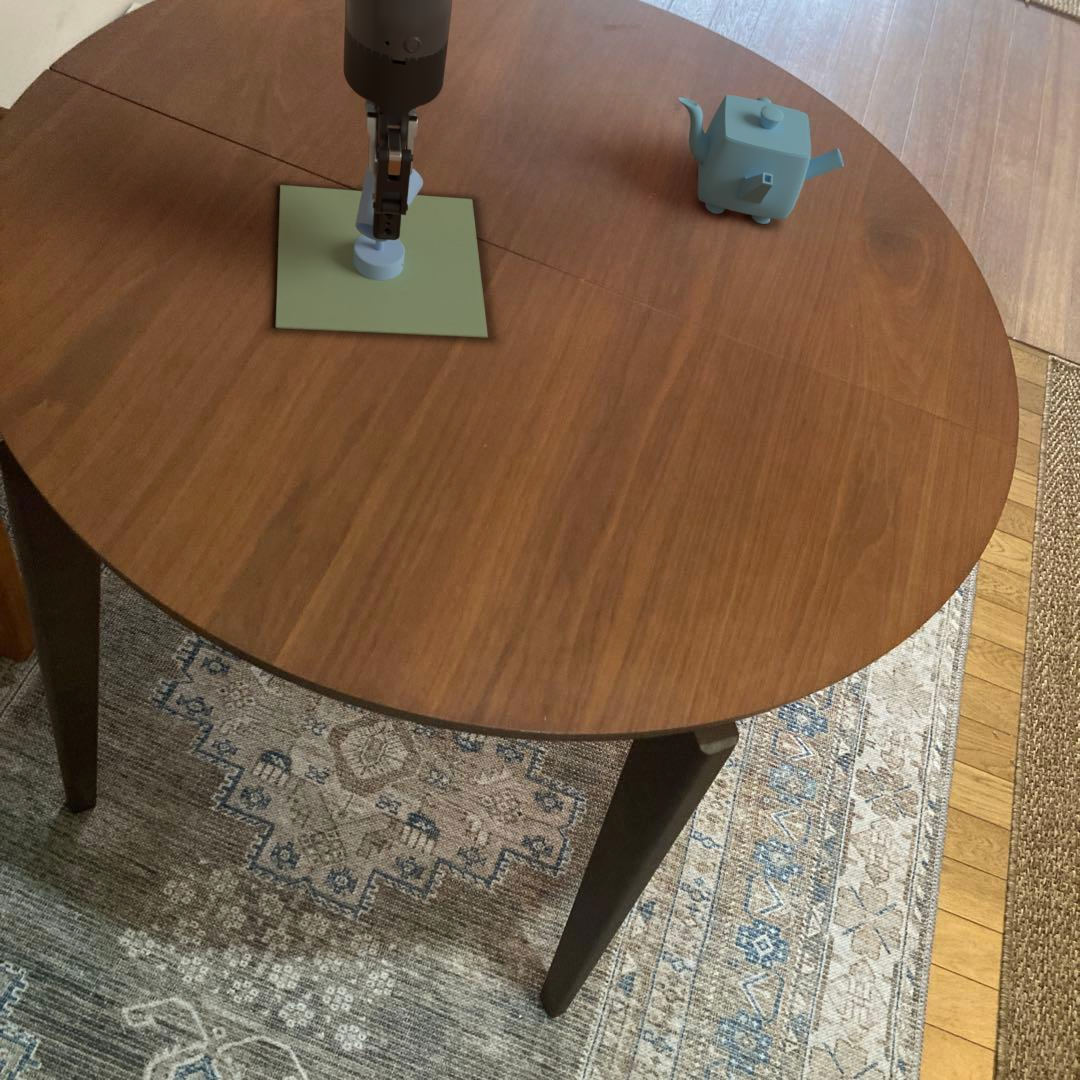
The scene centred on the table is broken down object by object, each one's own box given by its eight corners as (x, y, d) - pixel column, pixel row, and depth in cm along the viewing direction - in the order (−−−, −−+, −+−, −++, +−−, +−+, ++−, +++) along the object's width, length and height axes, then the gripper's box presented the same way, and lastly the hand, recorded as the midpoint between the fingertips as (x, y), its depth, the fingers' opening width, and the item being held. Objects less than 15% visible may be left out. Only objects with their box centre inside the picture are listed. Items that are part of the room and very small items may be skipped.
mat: (275, 328, 87) (275, 326, 87) (280, 186, 97) (280, 184, 96) (487, 337, 91) (487, 336, 91) (471, 200, 100) (472, 199, 100)
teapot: (815, 178, 113) (855, 95, 104) (822, 264, 105) (865, 182, 96) (655, 141, 111) (683, 53, 103) (649, 226, 103) (678, 138, 95)
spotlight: (368, 227, 95) (339, 274, 91) (374, 133, 87) (342, 180, 83) (419, 245, 95) (392, 292, 91) (429, 153, 87) (400, 200, 83)
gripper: (343, -38, 78) (339, 149, 92) (346, 77, 70) (340, 262, 84) (443, -26, 80) (424, 156, 93) (455, 87, 72) (432, 268, 86)
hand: (384, 206), depth 89 cm, fingers closed on spotlight, 7 cm apart
